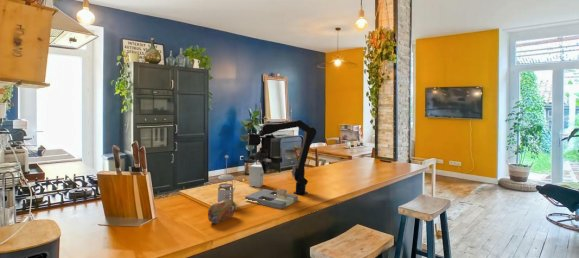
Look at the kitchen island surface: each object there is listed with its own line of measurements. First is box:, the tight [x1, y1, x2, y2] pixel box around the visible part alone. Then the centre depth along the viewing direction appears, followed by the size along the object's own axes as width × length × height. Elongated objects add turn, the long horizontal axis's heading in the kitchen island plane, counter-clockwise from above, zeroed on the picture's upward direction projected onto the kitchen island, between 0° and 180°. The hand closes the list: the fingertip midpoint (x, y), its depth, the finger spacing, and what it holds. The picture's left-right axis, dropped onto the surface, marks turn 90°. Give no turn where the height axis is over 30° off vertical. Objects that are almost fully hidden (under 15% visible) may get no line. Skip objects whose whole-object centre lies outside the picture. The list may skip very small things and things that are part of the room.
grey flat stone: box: [207, 200, 236, 225], centre depth 144 cm, size 15×3×8 cm, turn 148°
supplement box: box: [248, 164, 265, 188], centre depth 204 cm, size 7×7×13 cm
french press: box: [217, 154, 236, 202], centre depth 166 cm, size 10×12×25 cm
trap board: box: [244, 188, 299, 210], centre depth 175 cm, size 18×22×2 cm
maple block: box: [276, 188, 288, 199], centre depth 173 cm, size 4×4×4 cm
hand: (265, 173), depth 186 cm, fingers closed
